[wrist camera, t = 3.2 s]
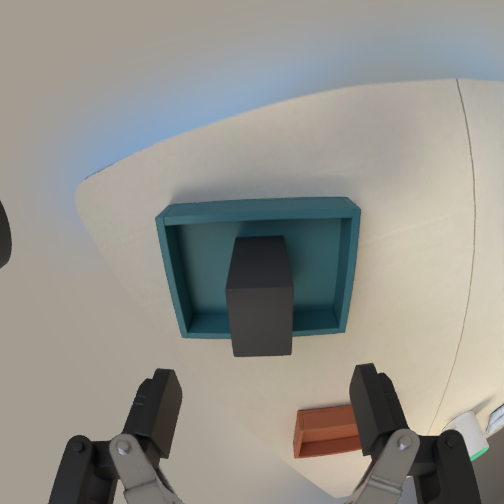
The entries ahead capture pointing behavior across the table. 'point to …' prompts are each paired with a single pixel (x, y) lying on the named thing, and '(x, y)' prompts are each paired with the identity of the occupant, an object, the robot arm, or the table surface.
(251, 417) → the table surface
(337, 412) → the terracotta bin
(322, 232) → the teal bin
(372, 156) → the table surface
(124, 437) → the robot arm
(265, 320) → the block
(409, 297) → the table surface
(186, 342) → the table surface
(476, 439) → the mug
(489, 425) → the light blue folded towel
